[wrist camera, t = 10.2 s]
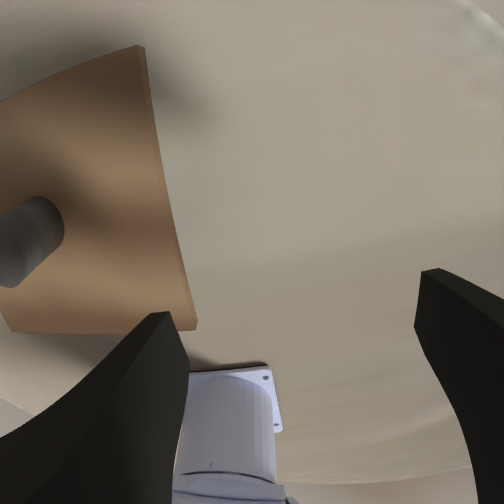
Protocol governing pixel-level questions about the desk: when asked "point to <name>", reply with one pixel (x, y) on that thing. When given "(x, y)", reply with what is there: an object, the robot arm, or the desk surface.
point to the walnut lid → (87, 205)
